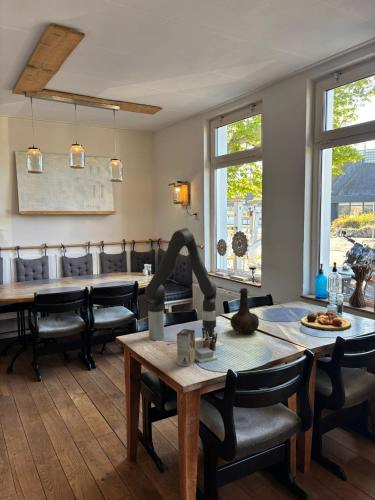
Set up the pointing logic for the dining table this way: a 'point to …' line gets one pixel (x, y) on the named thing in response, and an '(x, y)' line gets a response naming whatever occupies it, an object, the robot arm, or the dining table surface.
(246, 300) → the glass bottle
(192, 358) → the coffee box
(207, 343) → the walnut brick
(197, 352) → the tower base
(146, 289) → the robot arm
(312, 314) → the wooden plate with food
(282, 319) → the dining table surface
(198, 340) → the cream brick
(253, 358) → the dining table surface
